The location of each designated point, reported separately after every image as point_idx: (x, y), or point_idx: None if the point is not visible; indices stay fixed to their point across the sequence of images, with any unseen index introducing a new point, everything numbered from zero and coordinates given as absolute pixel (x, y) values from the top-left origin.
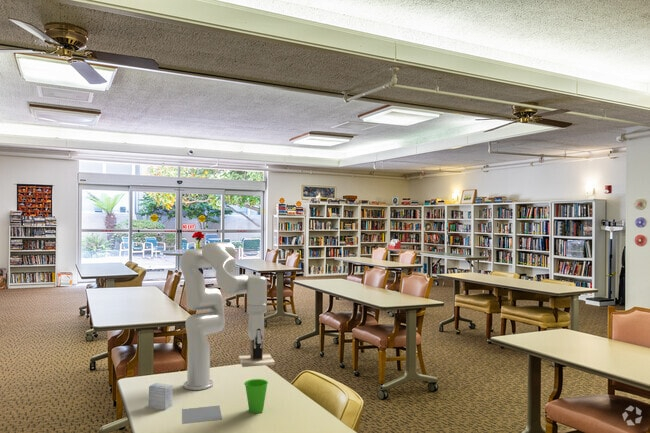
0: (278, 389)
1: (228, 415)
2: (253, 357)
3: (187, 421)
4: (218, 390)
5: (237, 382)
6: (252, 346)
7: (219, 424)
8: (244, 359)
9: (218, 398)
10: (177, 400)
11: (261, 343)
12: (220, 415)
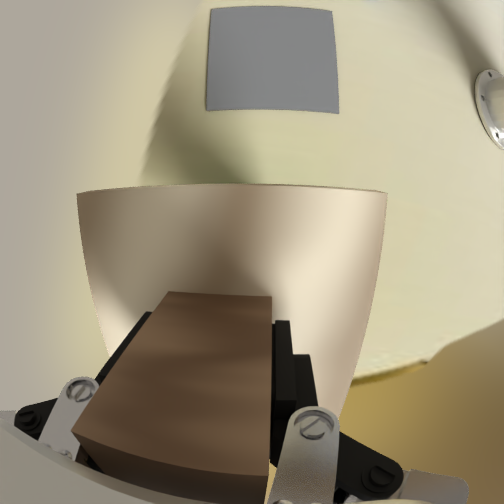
0: (407, 326)
1: (246, 132)
2: (144, 316)
3: (224, 18)
4: (467, 149)
5: (497, 221)
6: (102, 385)
7: (180, 102)
8: (221, 228)
9: (409, 128)
10: (411, 22)
11: (87, 463)
12: (242, 105)
